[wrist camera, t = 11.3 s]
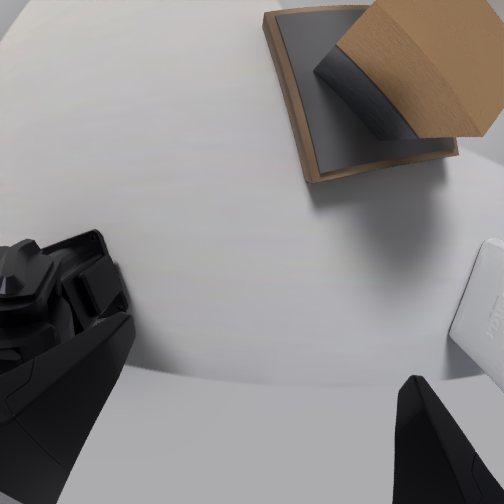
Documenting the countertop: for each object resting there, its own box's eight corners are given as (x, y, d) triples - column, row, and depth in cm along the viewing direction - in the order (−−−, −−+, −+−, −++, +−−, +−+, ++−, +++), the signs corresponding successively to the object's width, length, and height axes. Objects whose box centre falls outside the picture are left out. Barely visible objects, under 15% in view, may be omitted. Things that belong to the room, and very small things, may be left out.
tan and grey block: (379, 141, 16) (482, 137, 7) (312, 70, 15) (374, 1, 6) (429, 89, 15) (530, 65, 6) (370, 23, 14) (447, -43, 5)
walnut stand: (305, 180, 19) (313, 183, 17) (262, 26, 16) (264, 10, 14) (441, 154, 19) (461, 155, 16) (403, 18, 15) (419, 7, 13)
